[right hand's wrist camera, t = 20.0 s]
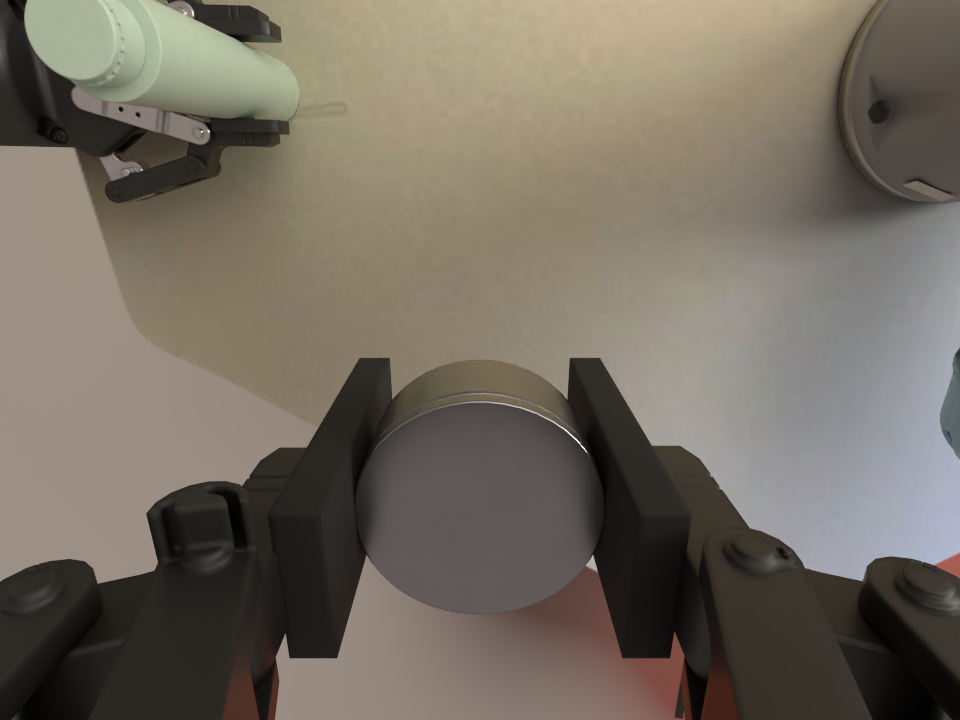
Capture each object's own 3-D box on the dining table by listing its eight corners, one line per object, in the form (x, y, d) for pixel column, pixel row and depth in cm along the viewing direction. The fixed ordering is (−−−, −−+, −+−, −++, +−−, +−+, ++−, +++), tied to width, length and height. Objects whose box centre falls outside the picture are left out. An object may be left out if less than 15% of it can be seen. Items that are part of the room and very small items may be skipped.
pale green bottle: (286, 137, 37) (113, 120, 20) (227, 105, 37) (-6, 59, 19) (309, 77, 36) (146, 1, 18) (249, 43, 36) (20, -69, 18)
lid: (466, 313, 11) (462, 348, 9) (629, 446, 12) (659, 504, 10) (331, 468, 12) (303, 528, 10) (490, 577, 13) (493, 651, 11)
